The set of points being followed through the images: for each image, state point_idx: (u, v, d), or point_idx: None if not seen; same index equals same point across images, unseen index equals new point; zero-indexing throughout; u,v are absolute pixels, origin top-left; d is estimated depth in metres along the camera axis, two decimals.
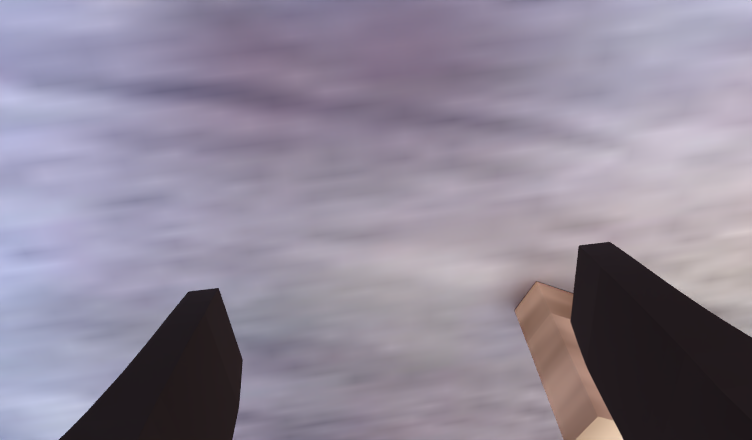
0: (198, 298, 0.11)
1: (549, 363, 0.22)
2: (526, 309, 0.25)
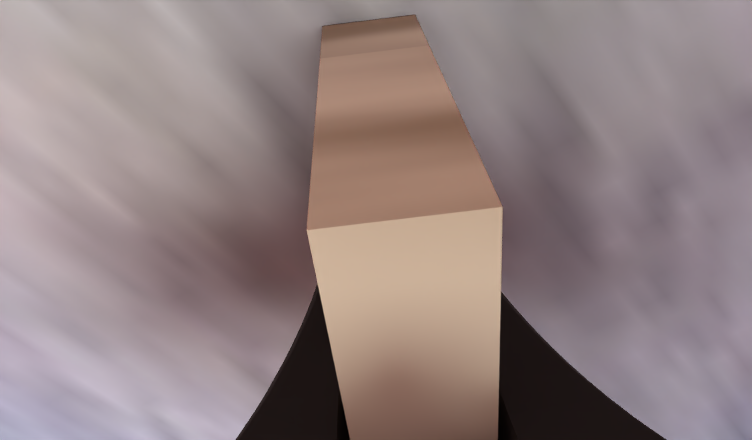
0: None
1: None
2: None
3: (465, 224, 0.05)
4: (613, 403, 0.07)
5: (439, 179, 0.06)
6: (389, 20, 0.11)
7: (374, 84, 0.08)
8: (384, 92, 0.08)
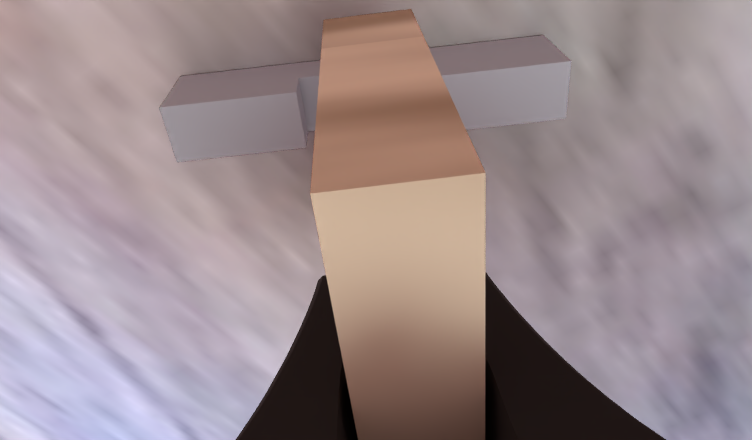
0: None
1: None
2: None
3: (452, 189, 0.06)
4: (612, 403, 0.07)
5: (430, 150, 0.06)
6: (386, 14, 0.12)
7: (372, 71, 0.09)
8: (381, 78, 0.09)
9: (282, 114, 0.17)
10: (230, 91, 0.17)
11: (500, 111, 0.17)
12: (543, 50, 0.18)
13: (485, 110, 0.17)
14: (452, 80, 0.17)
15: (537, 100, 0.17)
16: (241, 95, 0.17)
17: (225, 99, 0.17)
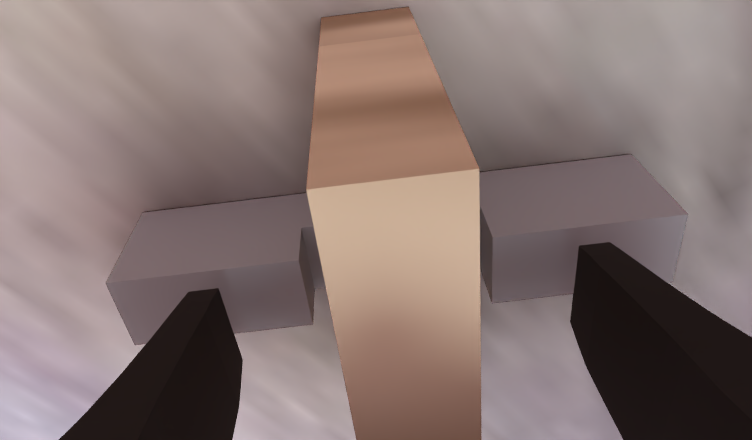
0: (198, 298, 0.11)
1: None
2: None
3: (446, 184, 0.06)
4: None
5: (425, 147, 0.06)
6: (384, 12, 0.12)
7: (368, 68, 0.09)
8: (377, 75, 0.09)
9: (279, 286, 0.12)
10: (206, 251, 0.12)
11: None
12: (640, 187, 0.13)
13: (562, 275, 0.12)
14: (518, 240, 0.12)
15: None
16: (221, 262, 0.12)
17: (199, 270, 0.12)
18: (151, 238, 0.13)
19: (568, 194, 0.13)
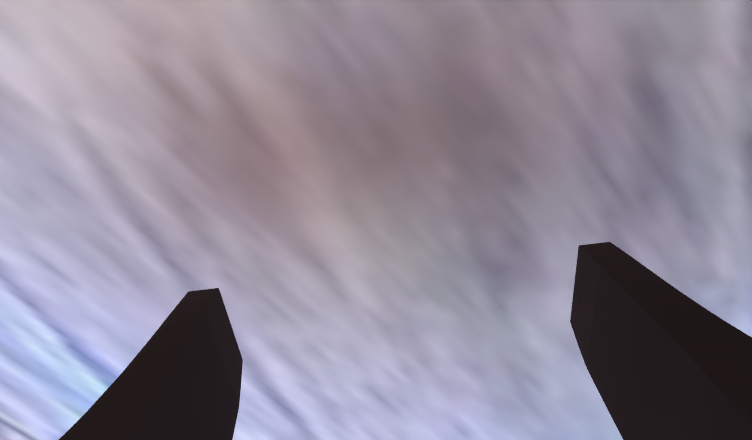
0: (198, 298, 0.11)
1: None
2: None
3: None
4: None
5: None
6: None
7: None
8: None
9: None
10: None
11: None
12: None
13: None
14: None
15: None
16: None
17: None
18: None
19: None
